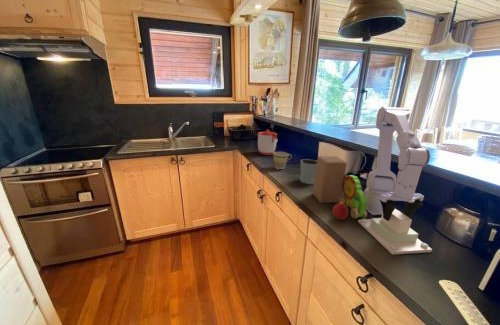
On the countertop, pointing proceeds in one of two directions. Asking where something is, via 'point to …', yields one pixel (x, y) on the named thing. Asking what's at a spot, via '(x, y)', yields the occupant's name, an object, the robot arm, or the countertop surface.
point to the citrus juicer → (267, 142)
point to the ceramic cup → (280, 159)
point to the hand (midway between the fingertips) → (395, 218)
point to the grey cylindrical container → (308, 171)
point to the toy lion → (354, 196)
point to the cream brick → (398, 222)
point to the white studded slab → (394, 237)
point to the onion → (340, 211)
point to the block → (329, 179)
